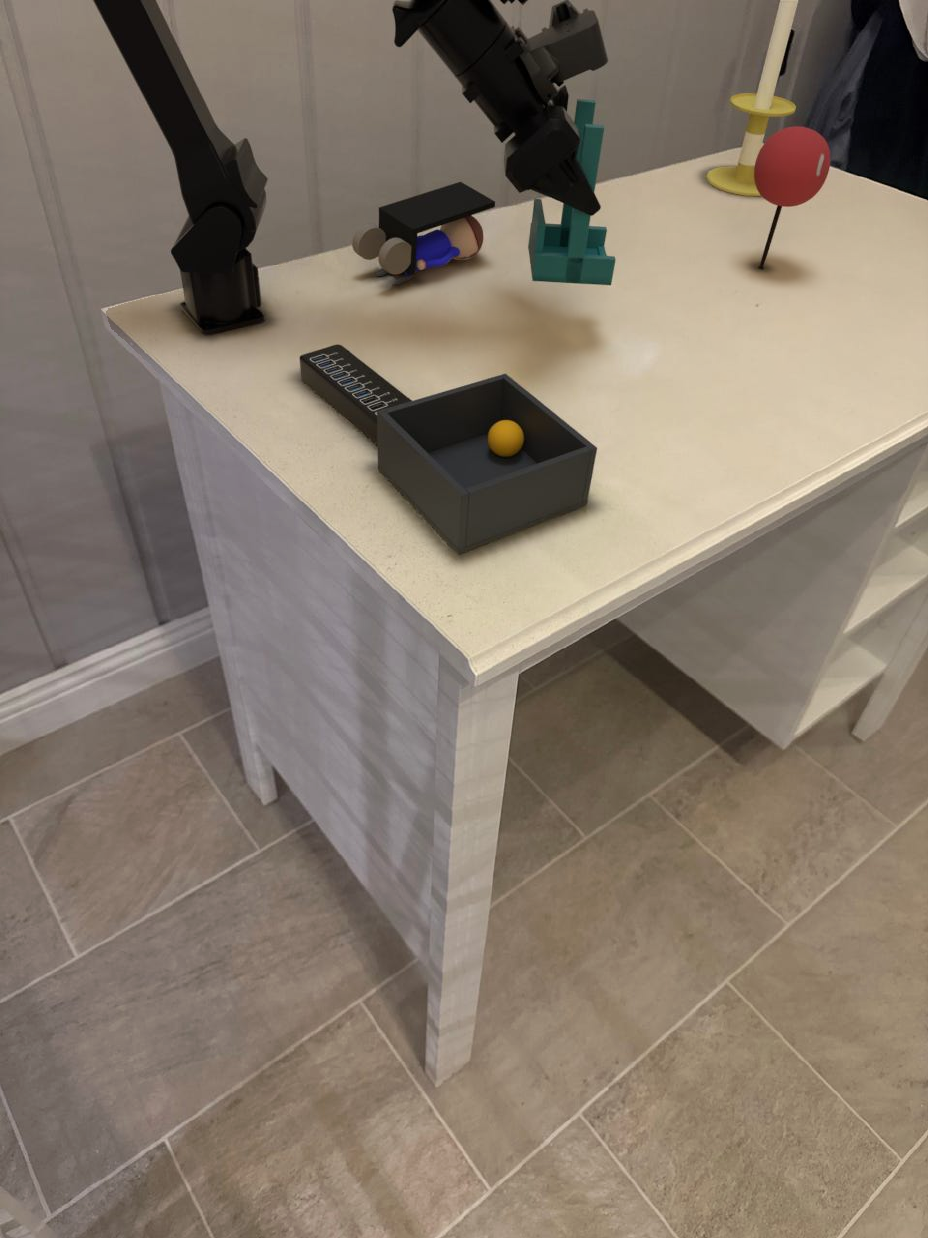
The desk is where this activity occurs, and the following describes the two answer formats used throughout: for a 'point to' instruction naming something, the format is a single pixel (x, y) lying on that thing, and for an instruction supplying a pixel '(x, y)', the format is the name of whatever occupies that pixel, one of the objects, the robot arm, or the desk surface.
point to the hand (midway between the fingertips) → (591, 194)
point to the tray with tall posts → (573, 223)
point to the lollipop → (790, 170)
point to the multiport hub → (349, 386)
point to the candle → (759, 110)
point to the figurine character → (419, 214)
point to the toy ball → (505, 438)
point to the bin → (483, 462)
